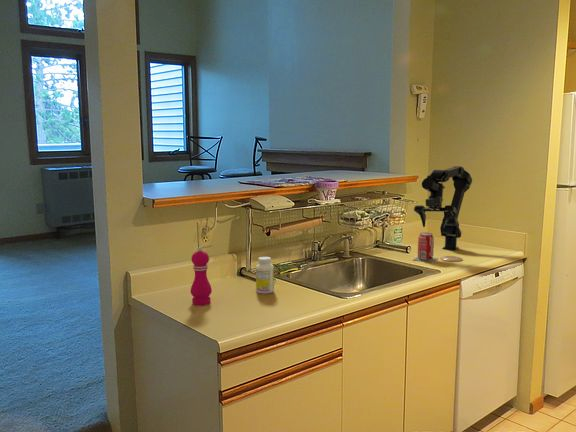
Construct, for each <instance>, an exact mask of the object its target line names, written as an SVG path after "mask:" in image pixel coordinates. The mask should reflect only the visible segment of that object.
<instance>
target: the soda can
mask: <svg viewBox="0 0 576 432" xmlns="http://www.w3.org/2000/svg"><path fill="white" fill-rule="evenodd" d="M434 246H435V237H434V236H433V233H432V232H420V233H419V236H418V237H417V257H418V258H419V259H421V260H431V259H432V258H434V250H435V249H434Z"/></svg>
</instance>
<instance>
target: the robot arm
mask: <svg viewBox="0 0 576 432" xmlns="http://www.w3.org/2000/svg"><path fill="white" fill-rule="evenodd" d="M450 178H451V180H452V181H453V187H454V193H453V197H452V199H451V203H450V205H447V204H446V205H444V207H442V206H443V201H444V198H443V195H444V189H445V188H446V187H445V185H444V184H443V183H447V182H448V181H449V180H450ZM472 183H473V178H472V176H471V174H470V173H469V172H468V171H466V169H465V168H464V167H463V166H459V165H458V166H457V165H456V166H452V167H449V168H446V169H434V170H432V171H431V173H430V174H429V175H427V176H426V178H424V179H423V180H422V182H421V188H423V189H424V190H425V191H427V192H429V193H430V194H429V196H428V198H427V199H425V206H424V205H422V204H421V205H417V204H416V205H414V207H413V211H414V212H415V213H416V214H418V215H419V217H420V219H421V223H422V227H423V228H425V227H426V221H427V220H426V219H427V214H426V213H427V212H429V213H430V212H434V213H435V212H437V213H439V212H440V213H443V218H442V222H441V224H440V227H439V228H440V229H439V230H440V235H441V237H444V246H443V247H442V249H443V250H444V249H445V250H450V251H451V250H452V251H457V250H458V249H459V248H460V247H459V246H457V245H458V244H457V242H458V239H460V238H461V237H462V231H461V228H460V222H459V220H458V218H459V214H460V210H461V208H462V204H463V200H464V197H465V193H466V192H467V191H468V190H469V189H470V187H471V186H472Z"/></svg>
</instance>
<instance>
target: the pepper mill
mask: <svg viewBox="0 0 576 432" xmlns="http://www.w3.org/2000/svg"><path fill="white" fill-rule="evenodd" d="M209 261H210V257H209V254H208V253H207V251H204V250H203V247H202V246H199V247H197V251H195V252H194V253H192V255H191V262H192V264H193V266H192V267H193V268H192V270H193V271H194V279H193V282H192V283H191V286H190V294H191V296H192V301H191V302H192V304H193V305H194V306H199V307H200V306H201V307H202V306H207V305H210V304H211V297H210V295H211V294H212V293H213V292H212V291H213V290H212V285H211V283H210V280H209V279H208V276H207V275H208V274H207V270H208V269H209V266H208V263H209Z"/></svg>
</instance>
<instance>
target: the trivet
mask: <svg viewBox="0 0 576 432" xmlns="http://www.w3.org/2000/svg"><path fill="white" fill-rule="evenodd" d="M439 260H441V261H443V262H448V263H449V262H451V263H455V262H456V263H458V262H462V261H463V258H462V257H460V256H454V255H444V256H443V255H442V256H440V257H439Z"/></svg>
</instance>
